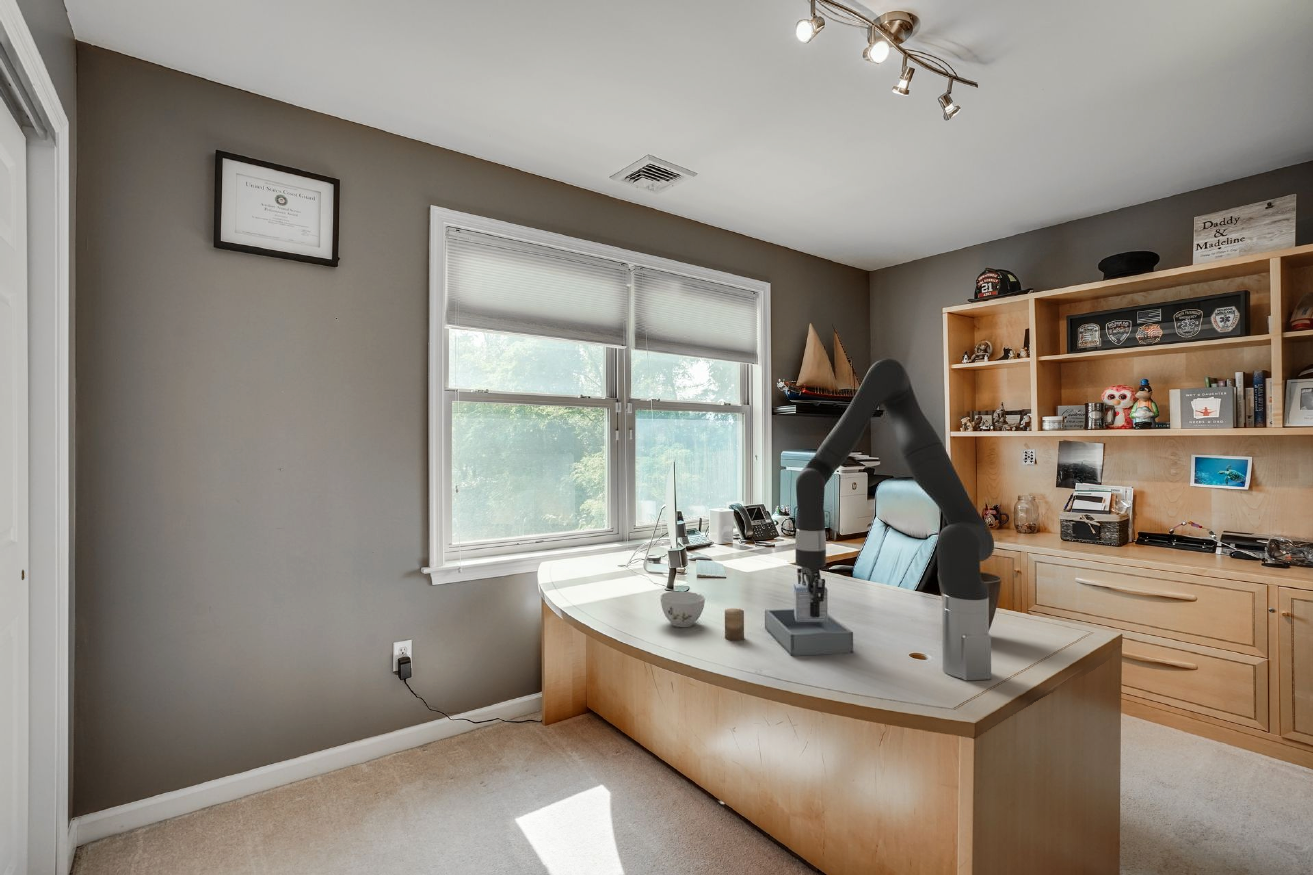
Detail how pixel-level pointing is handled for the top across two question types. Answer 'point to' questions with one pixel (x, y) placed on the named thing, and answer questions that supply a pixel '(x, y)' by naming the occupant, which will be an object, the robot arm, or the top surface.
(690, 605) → the teacup
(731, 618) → the tan bread loaf
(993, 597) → the plant pot
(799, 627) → the tote
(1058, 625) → the top surface
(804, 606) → the medicine box
